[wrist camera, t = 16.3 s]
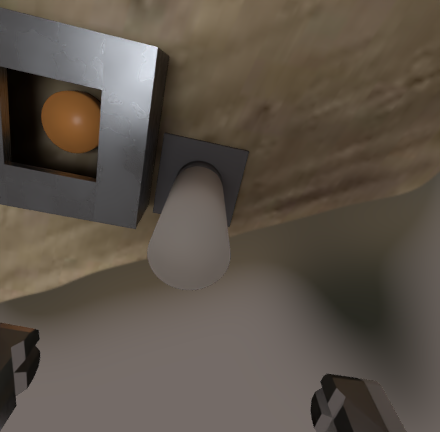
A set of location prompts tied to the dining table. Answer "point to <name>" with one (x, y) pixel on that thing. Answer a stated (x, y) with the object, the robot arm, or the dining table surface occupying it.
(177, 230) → the white cylinder
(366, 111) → the dining table surface
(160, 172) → the mat
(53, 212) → the panel
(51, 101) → the orange rounded piece
